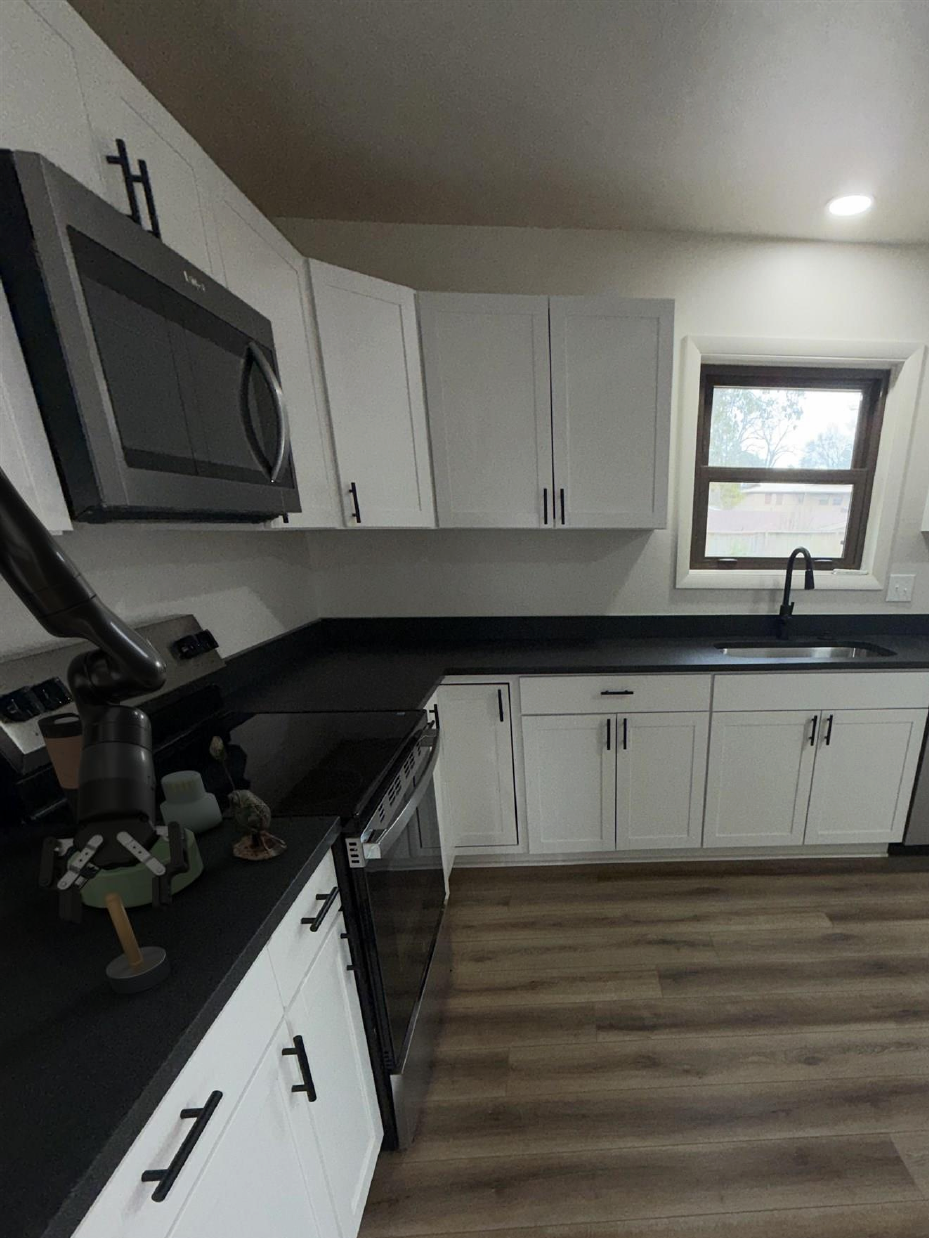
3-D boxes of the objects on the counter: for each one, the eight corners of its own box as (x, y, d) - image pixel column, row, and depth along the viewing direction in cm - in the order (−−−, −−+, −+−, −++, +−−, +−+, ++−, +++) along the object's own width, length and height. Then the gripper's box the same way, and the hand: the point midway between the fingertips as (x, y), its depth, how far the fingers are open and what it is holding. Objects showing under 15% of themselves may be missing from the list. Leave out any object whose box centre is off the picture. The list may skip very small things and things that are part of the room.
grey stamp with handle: (104, 999, 75) (68, 912, 70) (121, 967, 80) (89, 884, 75) (163, 988, 77) (132, 902, 72) (176, 957, 82) (148, 876, 77)
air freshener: (165, 823, 117) (149, 772, 113) (217, 812, 122) (203, 762, 118) (172, 846, 109) (154, 791, 105) (226, 833, 114) (212, 780, 110)
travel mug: (83, 838, 112) (41, 727, 104) (73, 825, 117) (32, 718, 108) (135, 824, 117) (98, 717, 109) (123, 811, 122) (87, 708, 113)
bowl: (63, 921, 89) (47, 884, 87) (103, 867, 103) (90, 834, 100) (191, 901, 94) (180, 865, 91) (213, 852, 107) (203, 820, 105)
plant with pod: (233, 874, 101) (199, 753, 93) (232, 844, 110) (201, 731, 102) (290, 861, 105) (262, 744, 96) (284, 833, 114) (258, 724, 105)
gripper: (29, 783, 74) (22, 922, 69) (172, 768, 78) (175, 898, 73) (64, 807, 81) (60, 935, 76) (194, 792, 85) (198, 912, 80)
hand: (117, 916), depth 74 cm, fingers open, 8 cm apart
